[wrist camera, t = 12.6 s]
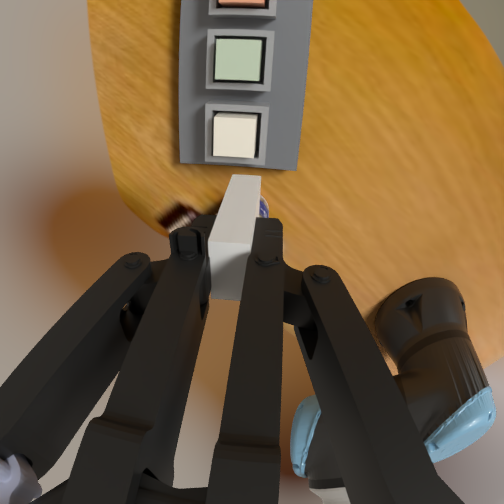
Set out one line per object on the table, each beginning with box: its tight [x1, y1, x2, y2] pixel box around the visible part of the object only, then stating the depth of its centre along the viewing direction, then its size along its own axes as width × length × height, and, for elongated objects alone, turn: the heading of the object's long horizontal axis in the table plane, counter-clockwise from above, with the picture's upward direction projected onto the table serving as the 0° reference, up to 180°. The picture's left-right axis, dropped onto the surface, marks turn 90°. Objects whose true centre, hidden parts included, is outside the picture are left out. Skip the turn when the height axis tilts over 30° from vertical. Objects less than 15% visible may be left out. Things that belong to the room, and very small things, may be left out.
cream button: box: [213, 111, 258, 158], centre depth 28 cm, size 4×4×3 cm
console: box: [179, 0, 313, 171], centre depth 25 cm, size 22×12×4 cm, turn 177°
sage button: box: [215, 39, 263, 81], centre depth 24 cm, size 4×4×3 cm
